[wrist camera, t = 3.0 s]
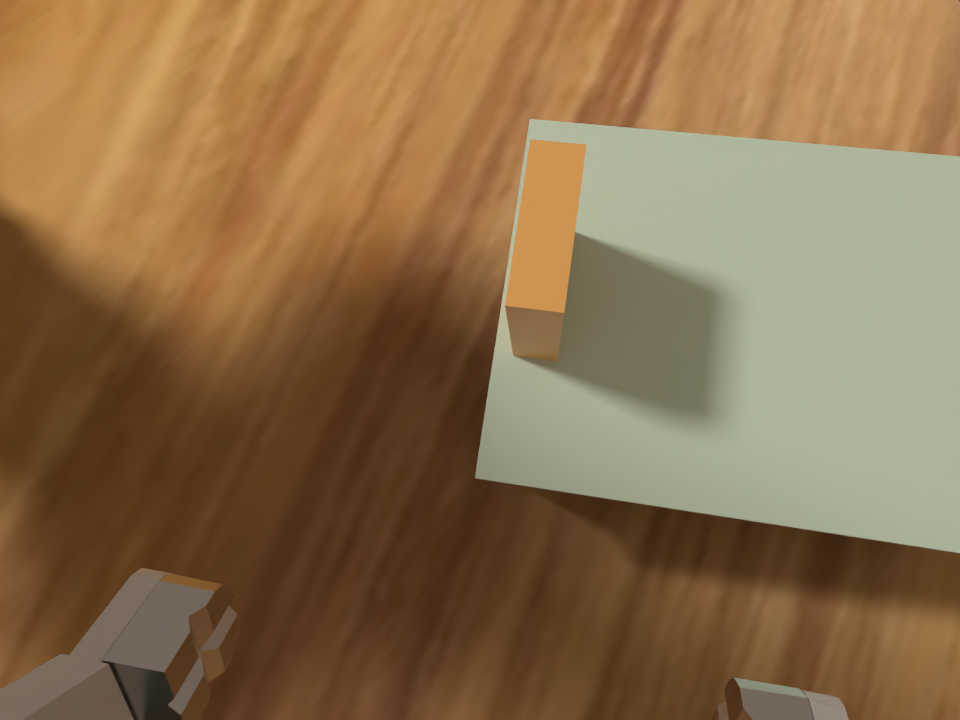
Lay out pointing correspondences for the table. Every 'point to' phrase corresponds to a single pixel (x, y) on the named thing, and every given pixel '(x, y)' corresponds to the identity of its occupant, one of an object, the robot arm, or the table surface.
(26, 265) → the table surface
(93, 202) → the table surface
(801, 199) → the lid
